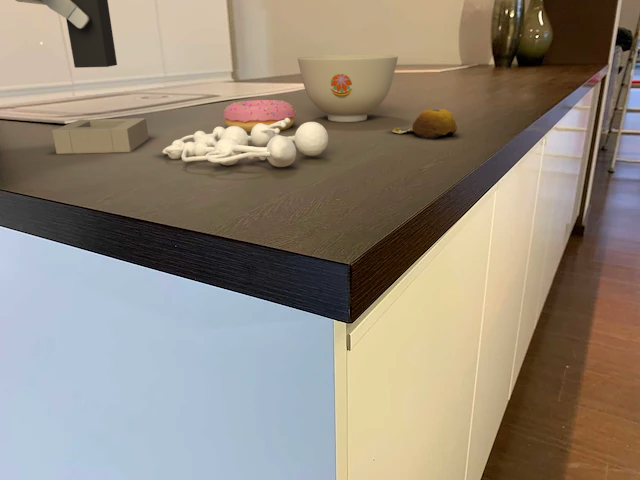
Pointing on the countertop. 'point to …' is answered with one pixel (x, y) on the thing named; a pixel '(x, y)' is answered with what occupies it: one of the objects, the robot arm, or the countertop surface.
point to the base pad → (100, 135)
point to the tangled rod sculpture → (235, 141)
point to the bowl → (347, 83)
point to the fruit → (432, 124)
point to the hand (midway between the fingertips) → (94, 24)
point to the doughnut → (258, 113)
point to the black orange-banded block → (93, 36)
